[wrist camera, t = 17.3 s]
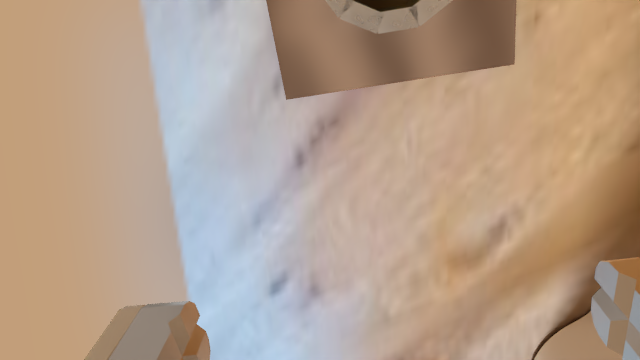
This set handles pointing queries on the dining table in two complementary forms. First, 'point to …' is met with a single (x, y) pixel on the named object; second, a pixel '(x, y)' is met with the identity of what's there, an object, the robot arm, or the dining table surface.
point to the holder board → (386, 41)
